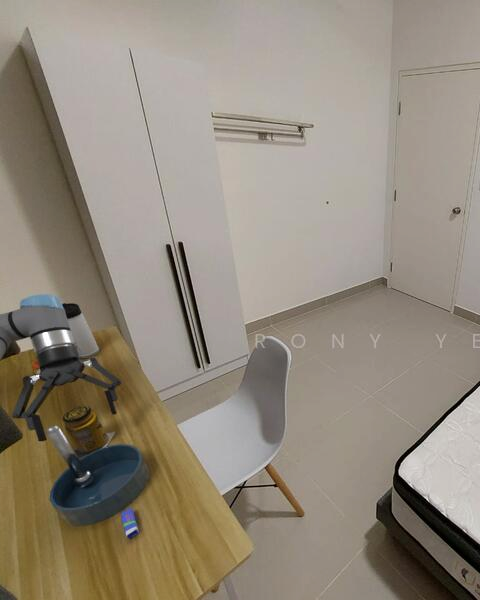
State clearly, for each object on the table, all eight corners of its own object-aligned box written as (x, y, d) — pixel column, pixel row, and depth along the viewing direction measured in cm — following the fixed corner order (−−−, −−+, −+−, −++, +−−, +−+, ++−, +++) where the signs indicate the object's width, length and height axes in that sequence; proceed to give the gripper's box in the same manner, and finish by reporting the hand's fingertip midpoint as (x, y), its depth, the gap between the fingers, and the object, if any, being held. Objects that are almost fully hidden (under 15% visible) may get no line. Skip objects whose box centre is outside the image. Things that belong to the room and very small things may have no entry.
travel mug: (94, 346, 124) (73, 300, 115) (102, 352, 121) (81, 305, 112) (73, 354, 119) (49, 307, 110) (81, 361, 116) (57, 313, 107)
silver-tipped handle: (100, 477, 79) (67, 421, 70) (86, 492, 76) (49, 435, 67) (87, 475, 79) (52, 419, 70) (72, 489, 76) (33, 432, 67)
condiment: (115, 432, 92) (99, 401, 86) (99, 458, 84) (80, 426, 79) (84, 436, 90) (66, 404, 84) (65, 464, 83) (43, 431, 77)
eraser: (128, 540, 69) (125, 535, 68) (123, 518, 72) (120, 513, 71) (139, 533, 70) (136, 528, 69) (134, 512, 74) (131, 507, 73)
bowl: (41, 530, 70) (27, 514, 67) (93, 461, 84) (84, 446, 81) (123, 522, 72) (114, 506, 69) (161, 457, 86) (154, 441, 83)
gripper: (118, 338, 96) (141, 405, 94) (-9, 372, 81) (14, 453, 78) (114, 331, 91) (139, 402, 88) (-24, 366, 75) (1, 453, 73)
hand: (80, 426), depth 83 cm, fingers open, 13 cm apart
